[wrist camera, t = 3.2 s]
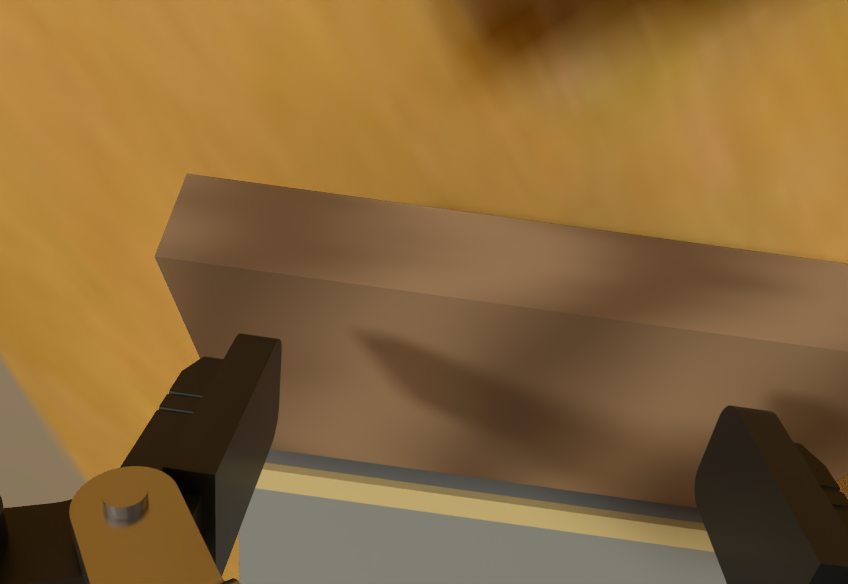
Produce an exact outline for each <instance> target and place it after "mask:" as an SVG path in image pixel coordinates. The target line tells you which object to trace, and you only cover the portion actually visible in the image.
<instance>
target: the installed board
mask: <svg viewBox="0 0 848 584" xmlns="http://www.w3.org/2000/svg"><path fill="white" fill-rule="evenodd" d="M239 583H240V584H727V583H726V580H725V578H724V575H723V572H722V570H721V567H720V565H719V562H718V559H717V557H716V554H715V552H714V549H713V547H712V544H711V541H710V539H709V536H708V534H707V531H706V528H705V526H704V523H703V521H702V518H701V515H700V513H699V510H698V508H692V507H685V506H678V505H671V504H663V503H656V502H649V501H642V500H634V499H627V498H620V497H613V496H606V495H598V494H591V493H584V492H577V491H570V490H562V489H555V488H548V487H541V486H534V485H526V484H519V483H512V482H505V481H498V480H490V479H483V478H476V477H469V476H462V475H454V474H447V473H440V472H433V471H425V470H418V469H411V468H404V467H397V466H389V465H382V464H375V463H368V462H361V461H353V460H346V459H339V458H332V457H325V456H317V455H310V454H303V453H296V452H289V451H281V450H274V449H270V450H269V453H268V456H267V458H266V461H265V464H264V466H263V469H262V472H261V474H260V477H259V479H258V482H257V485H256V487H255V490H254V493H253V495H252V498H251V501H250V503H249V506H248V508H247V511H246V514H245V516H244V519H243V522H242V524H241V527H240V529H239Z"/></svg>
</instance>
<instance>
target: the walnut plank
mask: <svg viewBox="0 0 848 584" xmlns="http://www.w3.org/2000/svg"><path fill="white" fill-rule="evenodd" d="M155 258H156V260H157V263H158V265H159V267H160V269H161V272H162V274H163V276H164V278H165V281H166V283H167V285H168V287H169V290H170V292H171V294H172V296H173V298H174V301H175V303H176V305H177V307H178V310H179V312H180V314H181V316H182V319H183V321H184V323H185V325H186V327H187V330H188V332H189V334H190V336H191V339H192V341H193V343H194V345H195V348H196V350H197V352H198V354H199V357H200V359H201V358H202V357H204V356H205V357H212V358H219V359H224V357H225V355H226V354H227V352H228V350H229V348H230V346H231V345H232V343H233V341H234V339H235V338H236V336H237V335H238V334H239V333H242V334H249V335H256V336H262V337H269V338H276V339H280V340H281V344H282V356H281V377H280V398H279V413H278V421H277V426H276V431H275V435H274V439H273V442H272V445H271V448H270V449H274V450H281V451H289V452H296V453H303V454H310V455H317V456H325V457H332V458H339V459H346V460H353V461H361V462H368V463H375V464H382V465H389V466H397V467H404V468H411V469H418V470H425V471H433V472H440V473H447V474H454V475H462V476H469V477H476V478H483V479H490V480H498V481H505V482H512V483H519V484H526V485H534V486H541V487H548V488H555V489H562V490H570V491H577V492H584V493H591V494H598V495H606V496H613V497H620V498H627V499H634V500H642V501H649V502H656V503H663V504H671V505H678V506H685V507H692V508H697V505H696V500H695V478H696V473H697V470H698V467H699V465H700V462H701V460H702V458H703V455H704V453H705V450H706V448H707V445H708V443H709V440H710V438H711V435H712V433H713V431H714V428H715V426H716V423H717V421H718V418H719V416H720V414H721V412H722V411H723V409H724V408H725V407H727V406H729V405H731V406H738V407H745V408H752V409H759V410H766V411H772V412H774V413H775V414H776V415H777V417H778V418H779V420H780V421H781V423H782V425H783V426H784V428H785V429H786V431H787V433H788V434H789V436H790V438H791V439H792V441H793V442H794V443H800V444H802V445H803V446H804V447H805V448H806V449H807V450H808V451H810V452H811V453H812V454H813V455H814V456H815V457H816V458H817V459H819V460H820V461H821V462H822V463H823V464H824V465H825V466H826V467H827V469H828V470H829V472H830V474H831V475H832V477H833V478H834V480H835V481H837V480H839V479H841V478H842V477H844V476H846V475H848V264H845V263H837V262H830V261H823V260H816V259H808V258H801V257H794V256H786V255H779V254H772V253H764V252H757V251H750V250H742V249H735V248H728V247H720V246H713V245H706V244H698V243H691V242H684V241H676V240H669V239H662V238H654V237H647V236H640V235H632V234H625V233H618V232H610V231H603V230H596V229H589V228H581V227H574V226H567V225H559V224H552V223H545V222H537V221H530V220H523V219H515V218H508V217H501V216H493V215H486V214H479V213H471V212H464V211H457V210H449V209H442V208H435V207H427V206H420V205H413V204H405V203H398V202H391V201H383V200H376V199H369V198H362V197H354V196H347V195H340V194H332V193H325V192H318V191H310V190H303V189H296V188H288V187H281V186H274V185H266V184H259V183H252V182H244V181H237V180H230V179H222V178H215V177H208V176H200V175H193V174H187V175H186V178H185V180H184V183H183V185H182V188H181V190H180V193H179V196H178V198H177V201H176V203H175V206H174V208H173V211H172V213H171V216H170V219H169V221H168V224H167V226H166V229H165V231H164V234H163V237H162V239H161V242H160V244H159V247H158V249H157V252H156V254H155Z"/></svg>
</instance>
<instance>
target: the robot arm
mask: <svg viewBox="0 0 848 584" xmlns="http://www.w3.org/2000/svg"><path fill="white" fill-rule="evenodd" d="M281 356H282V344H281V340H280V339H276V338H269V337H262V336H256V335H249V334H242V333H239V334H238V335H237V336H236V338H235V339H234V341H233V343H232V345H231V346H230V348H229V350H228V352H227V354H226V355H225V357H224V359H219V358H212V357H205V356H204V357H202V358H201V359H199V360H198V361H196V362H195V363H193V364H192V365H190V366H189V367H187V368H186V369H184V370H183V371H182V372H181V373H180V375H179V376H178V378H177V380H176V381H175V383H174V384H173V386H172V387H171V389H170V392H169V394H167V395H166V397H165V398H164V400H163V401H162V403H161V405H160V407H159V410H157V411H156V412H155V414H154V415H153V417H152V419H151V420H150V422H149V423H148V425H147V426H146V428H145V429H144V431H143V433H142V434H141V436H140V437H139V439H138V440H137V442H136V444H135V445H134V447H133V448H132V450H131V451H130V453H129V454H128V456H127V458H126V459H125V461H124V462H123V464H122V465H121V467H120V468H117V469H113V470H110V471H107V472H104V473H102V474H100V475H98V476H96V477H94V478H92V479H91V480H89V481H88V482H87V483H85V484H84V485H83V486H82V487H81V488H80V489H79V490H78V491H77V492H76V494H75V496H74V497H73V499H71V500H68V501H63V502H57V503H51V504H41V505H31V506H22V507H12V508H3V503H2V499H1V497H0V584H240V583H239V581H237V580H236V579H234V578H233V579H230V580H228V581H224V580H223V578H222V574H223V572H224V569H225V566H226V564H227V561H228V558H229V556H230V553H231V551H232V548H233V545H234V543H235V540H236V537H237V535H238V532H239V529H240V527H241V524H242V522H243V519H244V516H245V514H246V511H247V508H248V506H249V503H250V501H251V498H252V495H253V493H254V490H255V487H256V485H257V482H258V479H259V477H260V474H261V472H262V469H263V466H264V464H265V461H266V458H267V456H268V453H269V450H270V448H271V445H272V442H273V439H274V435H275V431H276V426H277V421H278V413H279V398H280V377H281ZM839 490H840V487H839V486H838V484H837V483H836V481H835V480H834V478H833V477H832V475H831V474H830V472H829V470H828V469H827V467H826V466H825V465H824V464H823V463H822V462H821V461H820V460H819V459H817V458H816V457H815V456H814V455H813V454H812V453H811V452H810V451H808V450H807V449H806V448H805V447H804V446H803V445H802V444H800V443H794V442H793V441H792V439H791V438H790V436H789V434H788V433H787V431H786V429H785V428H784V426H783V425H782V423H781V421H780V420H779V418H778V417H777V415H776V414H775V413H774V412H772V411H766V410H759V409H752V408H745V407H738V406H731V405H729V406H727V407H725V408H724V409H723V411H722V412H721V414H720V416H719V418H718V421H717V423H716V426H715V428H714V431H713V433H712V435H711V438H710V440H709V443H708V445H707V448H706V450H705V453H704V455H703V458H702V460H701V462H700V465H699V467H698V470H697V473H696V478H695V500H696V505H697V508H698V510H699V513H700V515H701V518H702V521H703V523H704V526H705V528H706V531H707V534H708V536H709V539H710V541H711V544H712V547H713V549H714V552H715V554H716V557H717V559H718V562H719V565H720V567H721V570H722V572H723V575H724V578H725V580H726V583H727V584H848V500H847V498H846V497H845V495H844V494H843V493H842V492H840V491H839Z"/></svg>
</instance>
